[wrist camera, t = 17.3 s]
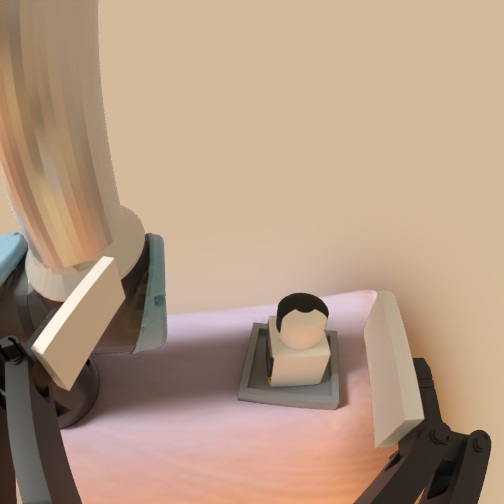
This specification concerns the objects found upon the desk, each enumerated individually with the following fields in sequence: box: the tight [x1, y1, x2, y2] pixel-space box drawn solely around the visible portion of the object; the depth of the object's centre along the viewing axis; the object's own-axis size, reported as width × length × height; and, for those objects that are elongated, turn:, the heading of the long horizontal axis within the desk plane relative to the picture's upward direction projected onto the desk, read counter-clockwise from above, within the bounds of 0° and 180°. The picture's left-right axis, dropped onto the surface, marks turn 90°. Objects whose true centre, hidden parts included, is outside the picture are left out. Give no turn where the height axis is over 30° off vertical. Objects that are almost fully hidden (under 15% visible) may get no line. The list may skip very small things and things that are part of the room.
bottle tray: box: [238, 323, 339, 410], centre depth 40 cm, size 13×13×2 cm
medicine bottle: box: [265, 293, 331, 387], centre depth 37 cm, size 7×7×12 cm
